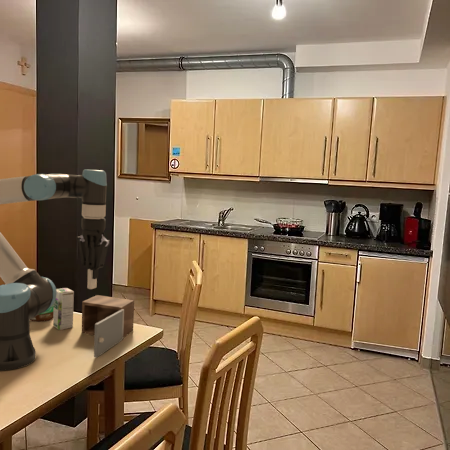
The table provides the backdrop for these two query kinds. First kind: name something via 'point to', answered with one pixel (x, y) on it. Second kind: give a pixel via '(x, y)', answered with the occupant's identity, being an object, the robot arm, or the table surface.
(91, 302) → the cabinet
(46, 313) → the food container
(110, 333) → the door
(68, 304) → the syrup box
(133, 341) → the table surface
